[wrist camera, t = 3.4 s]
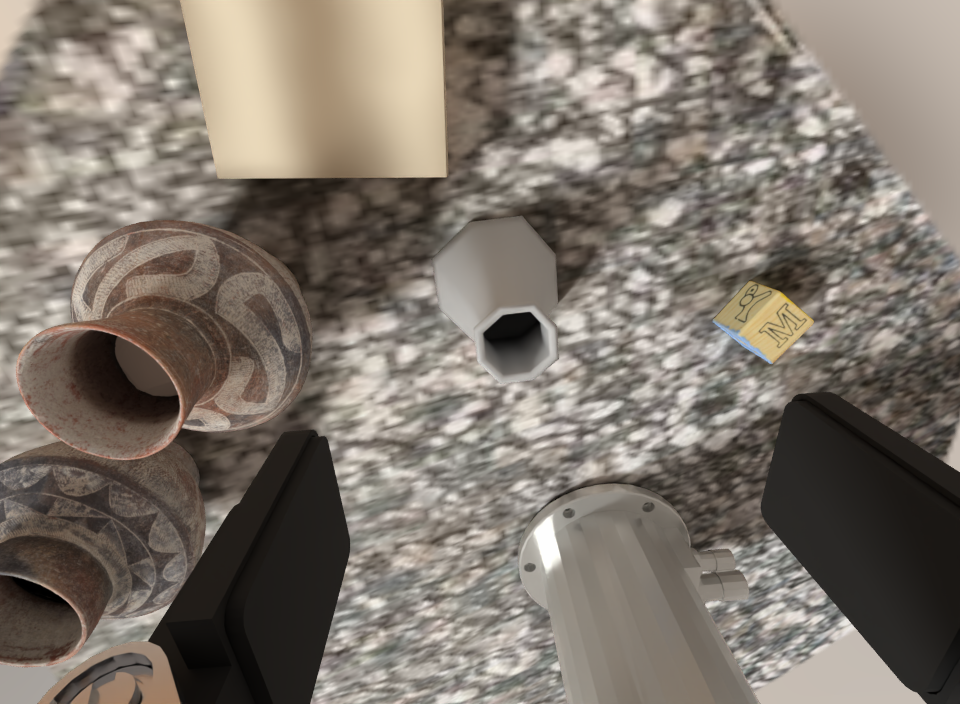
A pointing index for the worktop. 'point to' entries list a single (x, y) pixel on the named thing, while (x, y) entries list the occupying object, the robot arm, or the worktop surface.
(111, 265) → the pottery
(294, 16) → the maple block
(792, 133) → the worktop surface
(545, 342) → the flask
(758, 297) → the alphabet block
